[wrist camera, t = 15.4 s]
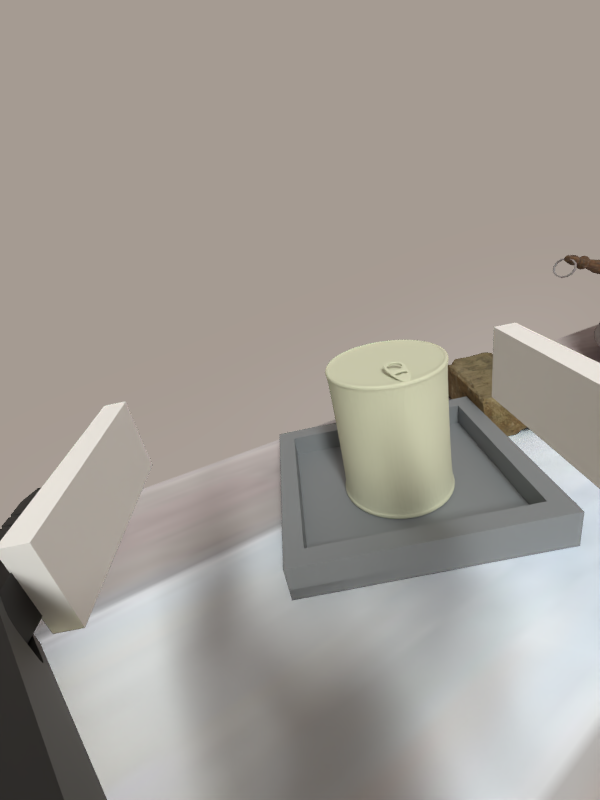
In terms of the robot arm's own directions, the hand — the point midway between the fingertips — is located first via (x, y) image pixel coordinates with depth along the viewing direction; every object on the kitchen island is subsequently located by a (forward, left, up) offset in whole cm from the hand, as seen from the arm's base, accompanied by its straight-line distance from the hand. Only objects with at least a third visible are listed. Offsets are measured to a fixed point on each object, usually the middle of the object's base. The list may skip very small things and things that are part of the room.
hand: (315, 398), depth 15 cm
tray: (+6, +16, -18) cm, 25 cm away
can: (+6, +16, -17) cm, 24 cm away
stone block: (+19, +26, -18) cm, 37 cm away
